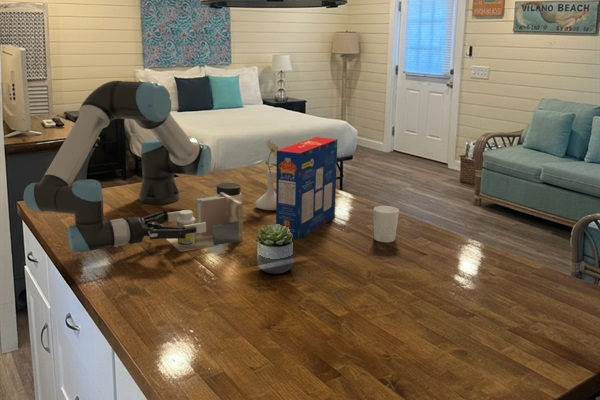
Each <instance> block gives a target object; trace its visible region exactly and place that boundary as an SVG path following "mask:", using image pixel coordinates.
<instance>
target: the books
mask: <svg viewBox="0 0 600 400" xmlns="http://www.w3.org/2000/svg"><path fill="white" fill-rule="evenodd" d="M195 202H196V203H195V205H196V207H195V208H196V210H195V211H196V223H203V222H205V223H206V232H201V233H199V234H200V235H202V236H203V237H204V236H210V235H213V225H219V224H225V223H227V221H226V197H221V196H216V195H214V196H209V197H208V196H207V197H202V198H201V197H199V198H196V199H195Z"/></svg>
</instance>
